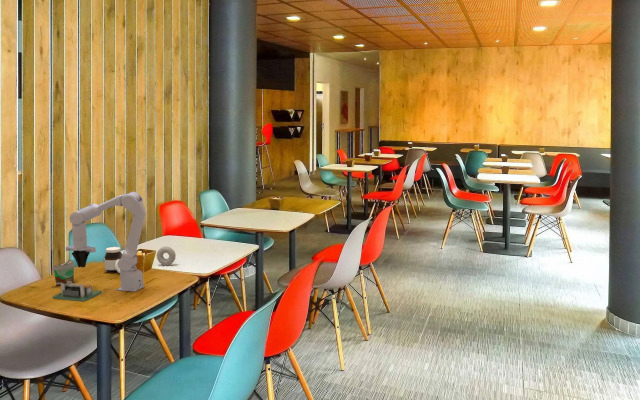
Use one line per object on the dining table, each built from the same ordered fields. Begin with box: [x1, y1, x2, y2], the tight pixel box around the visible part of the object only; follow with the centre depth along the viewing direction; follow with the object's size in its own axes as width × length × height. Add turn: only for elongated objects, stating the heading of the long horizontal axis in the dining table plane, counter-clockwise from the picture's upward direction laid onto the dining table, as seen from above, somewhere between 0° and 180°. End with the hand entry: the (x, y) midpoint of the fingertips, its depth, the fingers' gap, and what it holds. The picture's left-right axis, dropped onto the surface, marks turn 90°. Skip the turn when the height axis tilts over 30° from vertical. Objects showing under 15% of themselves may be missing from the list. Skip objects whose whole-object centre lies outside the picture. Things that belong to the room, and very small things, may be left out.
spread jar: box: [103, 246, 123, 274], centre depth 300 cm, size 12×11×12 cm
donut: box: [156, 246, 176, 266], centre depth 311 cm, size 10×4×10 cm, turn 86°
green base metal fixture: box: [52, 281, 103, 302], centre depth 262 cm, size 16×12×6 cm
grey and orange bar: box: [66, 283, 92, 288], centre depth 261 cm, size 12×2×1 cm, turn 74°
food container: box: [52, 259, 76, 287], centre depth 280 cm, size 12×6×10 cm, turn 168°
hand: (81, 266), depth 270 cm, fingers closed
